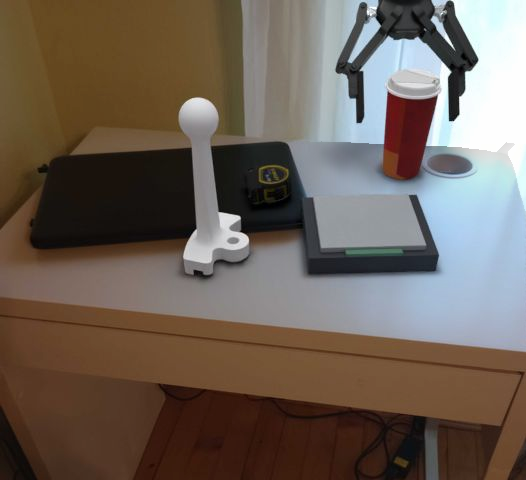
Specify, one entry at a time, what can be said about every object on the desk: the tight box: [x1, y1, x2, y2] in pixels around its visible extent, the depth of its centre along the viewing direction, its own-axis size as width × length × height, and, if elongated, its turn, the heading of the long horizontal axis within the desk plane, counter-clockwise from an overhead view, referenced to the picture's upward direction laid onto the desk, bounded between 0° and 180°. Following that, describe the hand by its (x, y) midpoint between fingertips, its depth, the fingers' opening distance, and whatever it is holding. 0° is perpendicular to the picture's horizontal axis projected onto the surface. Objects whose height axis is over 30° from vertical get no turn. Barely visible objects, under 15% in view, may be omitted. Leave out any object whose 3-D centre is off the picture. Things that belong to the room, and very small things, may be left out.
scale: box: [300, 193, 440, 275], centre depth 83 cm, size 16×14×3 cm
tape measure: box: [242, 163, 294, 206], centre depth 91 cm, size 7×7×4 cm
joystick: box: [178, 97, 250, 276], centre depth 75 cm, size 11×8×20 cm
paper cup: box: [382, 68, 443, 180], centre depth 92 cm, size 8×8×14 cm
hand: (407, 119), depth 91 cm, fingers open, 13 cm apart
